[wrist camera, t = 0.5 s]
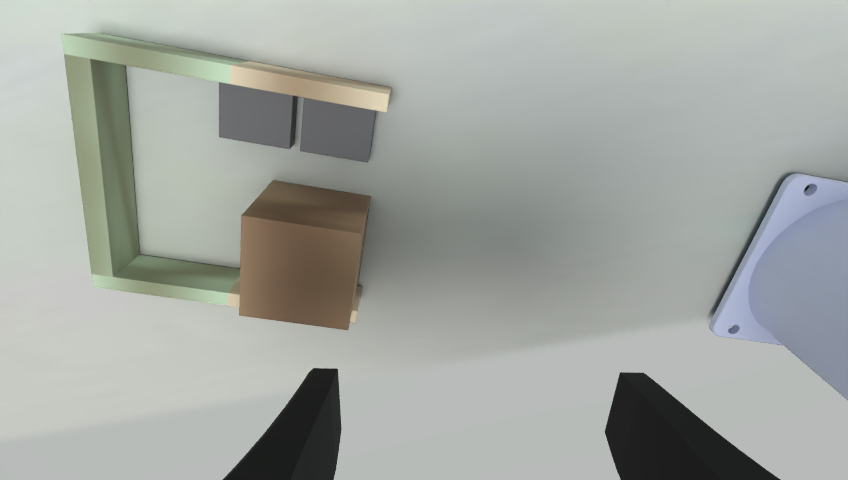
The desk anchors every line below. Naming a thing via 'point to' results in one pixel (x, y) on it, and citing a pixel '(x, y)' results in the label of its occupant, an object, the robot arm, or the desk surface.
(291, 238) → the block
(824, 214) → the robot arm
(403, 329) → the desk surface
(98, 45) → the green beige u-shaped frame
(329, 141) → the tiles
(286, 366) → the desk surface
